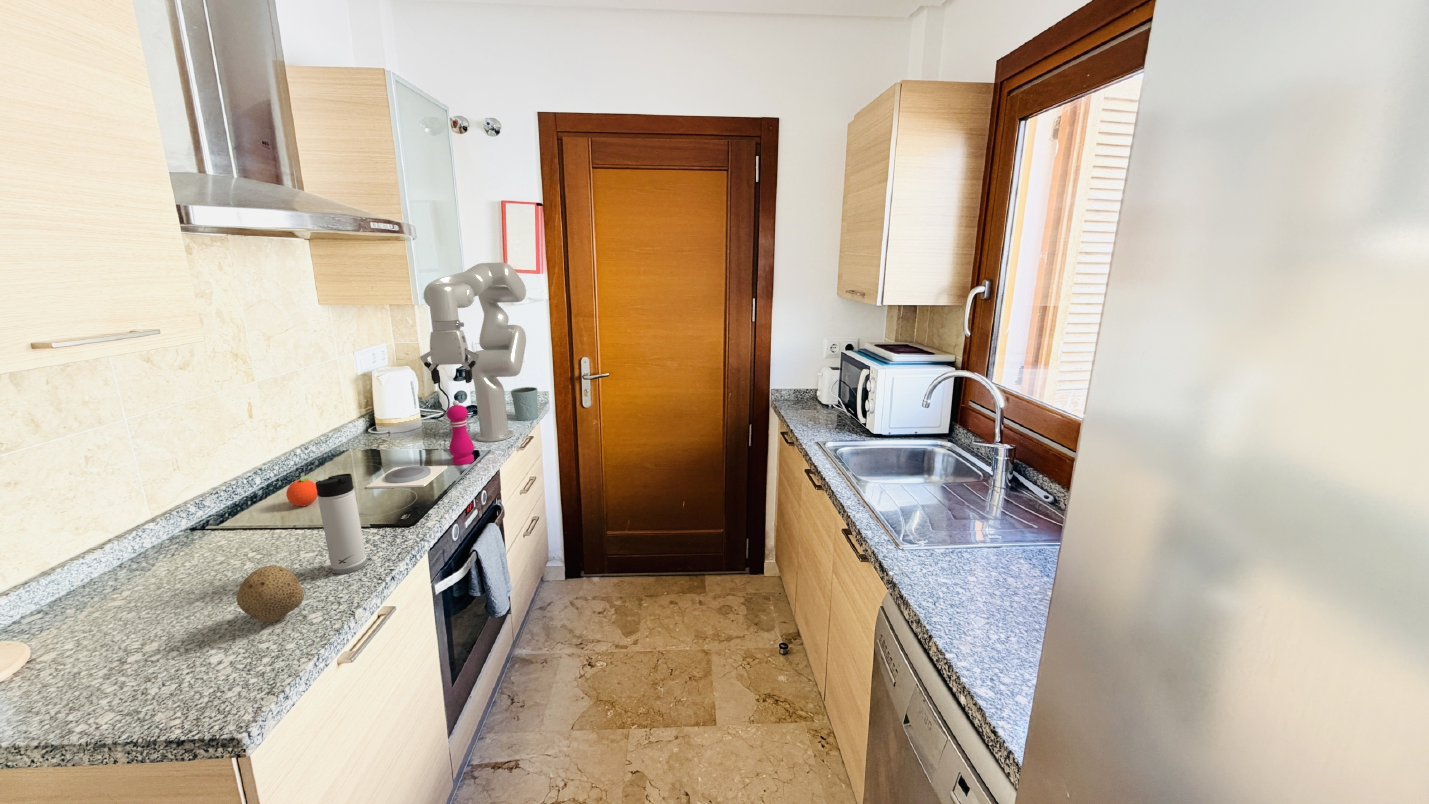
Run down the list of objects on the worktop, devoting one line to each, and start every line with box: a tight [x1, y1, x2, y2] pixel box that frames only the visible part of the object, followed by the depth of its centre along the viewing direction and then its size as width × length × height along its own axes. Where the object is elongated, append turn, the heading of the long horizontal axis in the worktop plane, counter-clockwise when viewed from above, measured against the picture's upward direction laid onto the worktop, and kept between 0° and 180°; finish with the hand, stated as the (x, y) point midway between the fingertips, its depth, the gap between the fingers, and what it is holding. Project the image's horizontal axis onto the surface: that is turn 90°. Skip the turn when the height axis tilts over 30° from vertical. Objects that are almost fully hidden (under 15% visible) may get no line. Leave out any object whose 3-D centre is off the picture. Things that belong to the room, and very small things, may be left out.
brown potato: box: [236, 565, 305, 623], centre depth 103 cm, size 9×9×10 cm
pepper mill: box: [446, 400, 475, 466], centre depth 183 cm, size 7×7×20 cm
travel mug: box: [314, 473, 368, 575], centre depth 119 cm, size 6×7×20 cm
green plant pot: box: [510, 386, 539, 422], centre depth 235 cm, size 10×10×12 cm
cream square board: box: [365, 465, 448, 490], centre depth 172 cm, size 16×16×2 cm
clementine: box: [285, 477, 318, 507], centre depth 154 cm, size 8×7×7 cm
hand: (452, 382), depth 179 cm, fingers open, 9 cm apart
